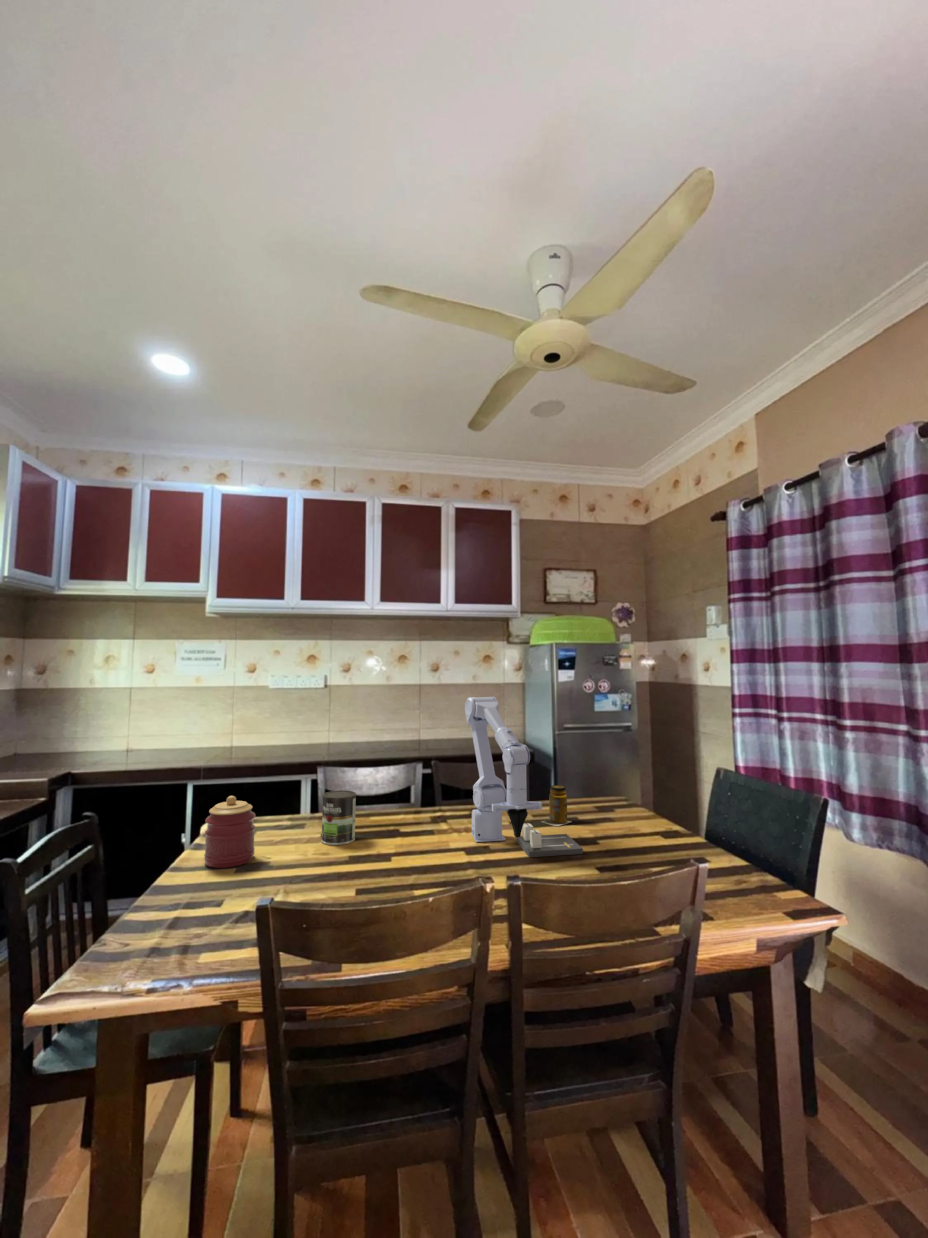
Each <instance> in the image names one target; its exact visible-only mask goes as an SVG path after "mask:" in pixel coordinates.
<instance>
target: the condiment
mask: <svg viewBox="0 0 928 1238" xmlns="http://www.w3.org/2000/svg"><path fill="white" fill-rule="evenodd" d="M549 792H550V793H549V795H548V796H549V799H548V800H549V802H548V803H549V804H548V805H549V806H548V807H549V818H548V819H545V820H542V821H540V822H541V823H543V824H546V825H550V826H554V827H561V826H563V825H564V826H565V825H567V824H569V823H572V822H573V821H572V820H568V797H567V794H566V793H567V792H566V786H564V785H561V784H560V785H559V784H557V785H556V784H555V785H554V784H553V785H551V786H550V791H549Z"/></svg>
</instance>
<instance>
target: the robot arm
mask: <svg viewBox="0 0 928 1238" xmlns="http://www.w3.org/2000/svg"><path fill="white" fill-rule="evenodd" d="M499 707H500V704H499V701H498V699H497V698H496V697H495V696H486V697H485V696H484V697H471V696H469V697H467V699H466V701H465V705H464V713H465V718H466V724H467V725H469V726H470V729H471V730H470V731H471V736H472V741H473V748H474V753H475V758H476V764H477V770H478V776H479V778H478V780H477V781H476V782H475V783H474V784H473V785H472V791H473V792H472V793H473V795H472V799H473V805H474V806H475V807H476V809H472V811H471V836H472V838H473V839H474V841H475V843H484V842H485V843H486V842H499V841H500V842H501V841H503V842H504V841H506V837H505V836H504V834H503V812H506V813H507V815H508V818H509V820H510V824H511V826H512V831H513V836H514V837H515V838H516V837H521V835H522V827H523V824H524V823H525V822H526V819H527V818H528V815H529V812H528V811H529V810H530V811H533V810H534V811H535V810H537V811H542V810H543V802H542V801H528V800H527V798H528V797H527V794H528V793H527V765H529V763H530V760H531V754H530V753H531V752H530V749H529V748H528V746H527V745H526V744H523V743H521V742H520V741H519V740H518V738H517V737H516V735H515V733H514V731H513V730H512V729H511V727H509V726H508V727H507V726H506V724H505V723H504V721H503V719H502V717H501V714H500V712H499V710H500V708H499ZM488 725H489V726H490V727H491V729H492V730H493V731H494V733H495V734H494V740H495V742H496V743H497V745H498V746H499V748H500V750H501V752H502V761H503V765H504V772H505V773H506V787H505V783H504V780H503V779H501V778H500V777H498V776H497V775H496V772H495V766H494V761H493V756H492V749H491V745H490V739H489V734H488V728H487V727H488Z"/></svg>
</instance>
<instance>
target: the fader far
mask: <svg viewBox="0 0 928 1238" xmlns="http://www.w3.org/2000/svg"><path fill="white" fill-rule="evenodd" d="M530 830H534V826H533V825H532V824H531V823H529V822H528V823H527V822H524V824H523V827H522V831H521V835H522V837H523V838H524V840H525V841H529V840H530Z"/></svg>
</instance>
